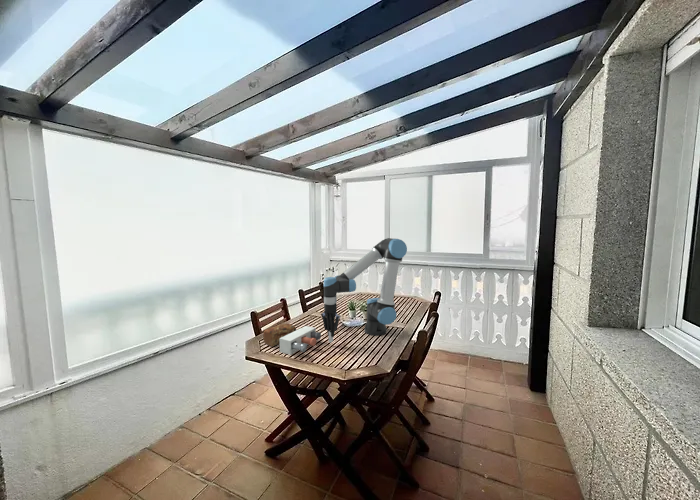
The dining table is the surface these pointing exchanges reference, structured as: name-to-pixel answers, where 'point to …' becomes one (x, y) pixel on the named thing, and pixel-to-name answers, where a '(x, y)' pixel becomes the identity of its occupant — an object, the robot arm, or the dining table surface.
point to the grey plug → (316, 335)
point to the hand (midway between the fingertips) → (330, 341)
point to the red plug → (308, 341)
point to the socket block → (294, 339)
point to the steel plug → (299, 346)
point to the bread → (277, 333)
